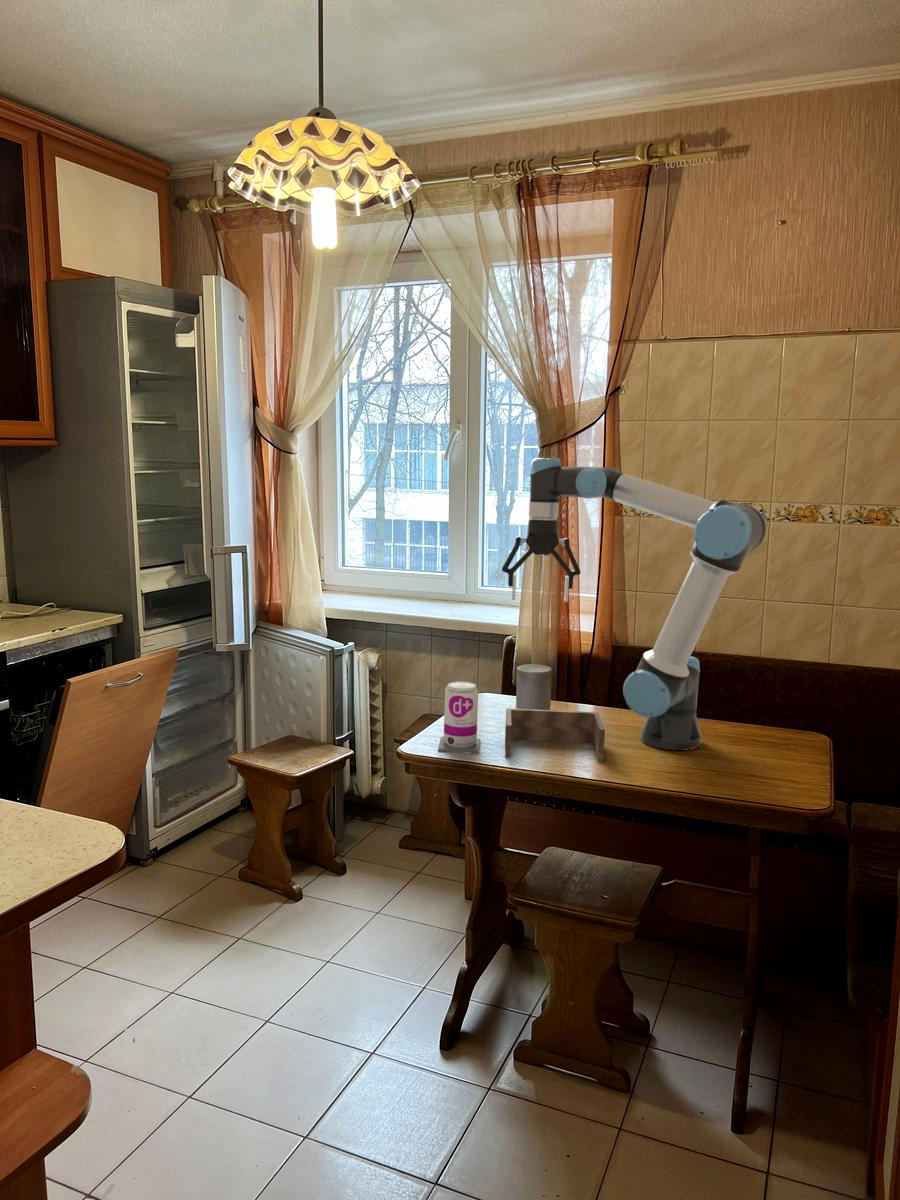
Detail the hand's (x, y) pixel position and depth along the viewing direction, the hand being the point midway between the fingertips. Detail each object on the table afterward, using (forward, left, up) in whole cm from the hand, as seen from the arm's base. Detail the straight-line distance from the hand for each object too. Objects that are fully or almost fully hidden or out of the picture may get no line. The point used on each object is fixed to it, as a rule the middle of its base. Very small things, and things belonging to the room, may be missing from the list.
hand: (539, 600), depth 234 cm
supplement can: (+19, +18, -34) cm, 43 cm away
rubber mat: (+19, +18, -35) cm, 43 cm away
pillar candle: (0, -13, -35) cm, 37 cm away
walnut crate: (-4, +17, -35) cm, 39 cm away
